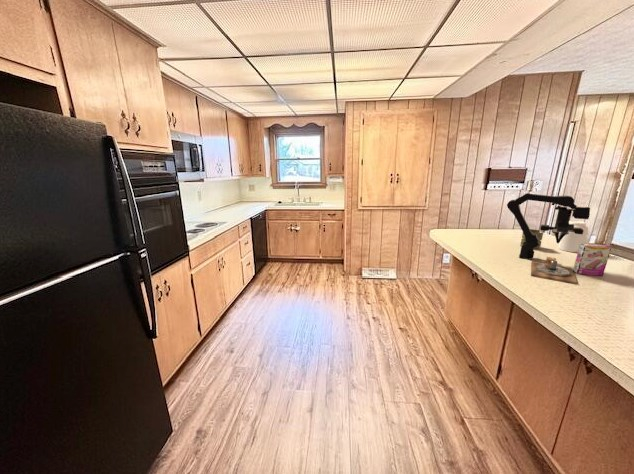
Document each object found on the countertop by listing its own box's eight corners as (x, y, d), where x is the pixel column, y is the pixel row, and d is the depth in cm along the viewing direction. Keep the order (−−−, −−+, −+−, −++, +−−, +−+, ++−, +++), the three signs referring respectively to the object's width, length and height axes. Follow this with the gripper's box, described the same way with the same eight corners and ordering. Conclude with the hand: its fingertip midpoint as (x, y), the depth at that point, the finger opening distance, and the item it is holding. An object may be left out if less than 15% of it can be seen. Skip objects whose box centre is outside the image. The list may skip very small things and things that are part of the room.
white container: (585, 253, 176) (592, 224, 171) (560, 251, 182) (566, 222, 177) (579, 248, 186) (587, 220, 181) (556, 246, 193) (562, 219, 187)
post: (549, 273, 147) (551, 261, 145) (548, 271, 148) (551, 260, 147) (554, 274, 145) (557, 262, 143) (554, 272, 147) (557, 261, 145)
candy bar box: (577, 274, 145) (584, 245, 140) (572, 270, 149) (579, 242, 145) (603, 276, 141) (612, 247, 137) (597, 273, 146) (605, 244, 141)
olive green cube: (538, 229, 193) (546, 233, 182) (535, 245, 196) (543, 250, 185) (520, 228, 196) (527, 232, 185) (517, 244, 199) (524, 248, 188)
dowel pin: (550, 267, 155) (552, 258, 153) (550, 266, 156) (552, 257, 154) (554, 267, 154) (556, 259, 152) (553, 267, 155) (556, 258, 154)
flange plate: (571, 277, 138) (573, 269, 137) (539, 273, 144) (541, 265, 143) (562, 266, 153) (563, 259, 152) (533, 262, 160) (535, 255, 158)
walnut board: (530, 275, 144) (531, 274, 144) (531, 262, 162) (531, 261, 162) (576, 284, 133) (577, 282, 133) (571, 269, 151) (571, 267, 151)
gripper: (543, 218, 155) (538, 243, 159) (588, 221, 144) (581, 249, 148) (542, 215, 164) (537, 239, 168) (584, 218, 153) (577, 244, 157)
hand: (557, 243), depth 160 cm, fingers closed
